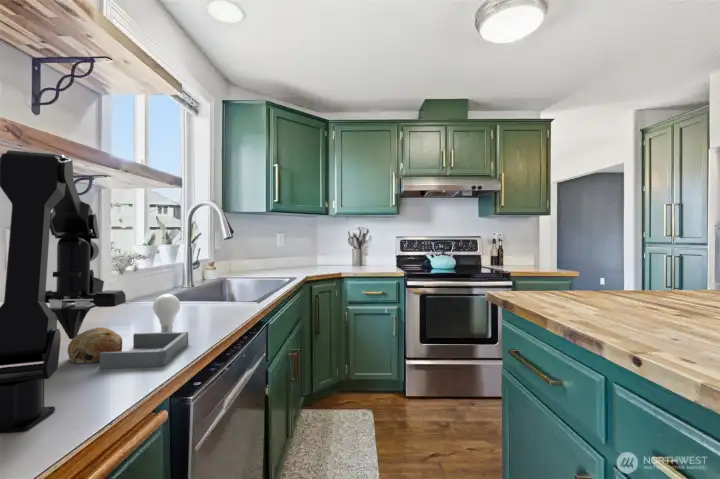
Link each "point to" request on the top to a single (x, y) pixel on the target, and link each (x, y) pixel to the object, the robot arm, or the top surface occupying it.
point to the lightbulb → (166, 310)
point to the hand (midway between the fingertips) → (72, 338)
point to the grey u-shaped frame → (147, 358)
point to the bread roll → (93, 345)
